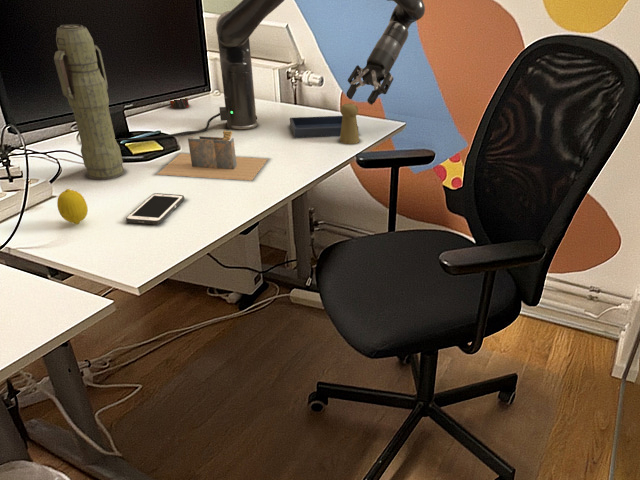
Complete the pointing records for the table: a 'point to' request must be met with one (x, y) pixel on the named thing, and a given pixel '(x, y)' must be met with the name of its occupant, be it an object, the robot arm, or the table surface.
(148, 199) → the cell phone
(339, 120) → the pan
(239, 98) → the robot arm
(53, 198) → the table surface
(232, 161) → the architectural model on board
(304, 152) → the table surface
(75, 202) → the lemon
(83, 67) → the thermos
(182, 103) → the black red jagged block
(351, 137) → the cork
